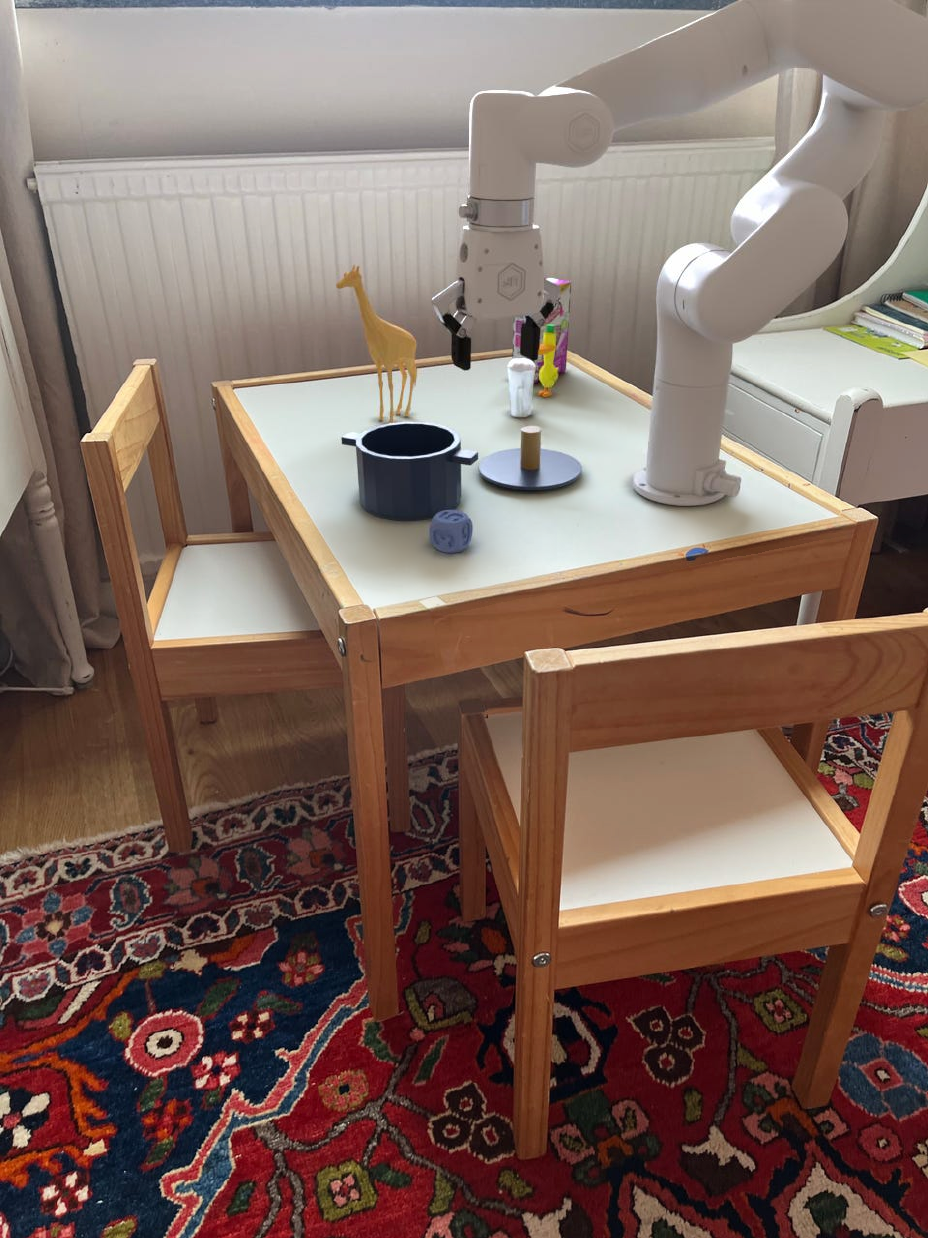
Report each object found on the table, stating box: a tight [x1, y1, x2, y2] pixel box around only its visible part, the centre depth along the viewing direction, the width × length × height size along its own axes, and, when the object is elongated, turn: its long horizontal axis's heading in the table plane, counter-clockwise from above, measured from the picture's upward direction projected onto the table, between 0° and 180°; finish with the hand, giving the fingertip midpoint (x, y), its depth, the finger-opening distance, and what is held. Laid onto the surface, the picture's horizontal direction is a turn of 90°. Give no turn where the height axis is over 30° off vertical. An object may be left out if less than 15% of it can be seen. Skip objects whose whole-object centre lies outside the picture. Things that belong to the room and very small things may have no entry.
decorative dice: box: [428, 509, 474, 554], centre depth 117 cm, size 4×4×4 cm
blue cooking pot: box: [340, 421, 479, 522], centre depth 128 cm, size 14×19×8 cm
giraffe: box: [335, 264, 418, 424], centre depth 151 cm, size 16×4×25 cm, turn 141°
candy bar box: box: [511, 277, 572, 384], centre depth 173 cm, size 11×5×16 cm, turn 141°
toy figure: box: [538, 324, 559, 398], centre depth 165 cm, size 7×4×12 cm, turn 133°
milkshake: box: [506, 355, 541, 418], centre depth 157 cm, size 5×5×10 cm
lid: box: [478, 425, 583, 491], centre depth 136 cm, size 15×15×7 cm
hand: (495, 362), depth 119 cm, fingers open, 9 cm apart
